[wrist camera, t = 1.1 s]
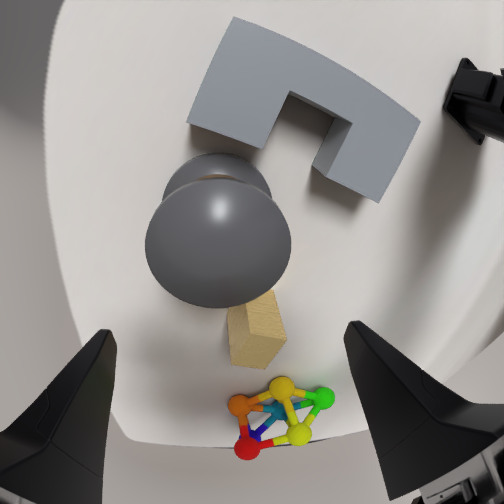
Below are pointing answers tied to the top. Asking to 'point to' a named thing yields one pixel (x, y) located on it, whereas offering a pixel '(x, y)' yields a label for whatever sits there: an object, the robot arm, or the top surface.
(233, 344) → the tan wooden block
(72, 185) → the top surface
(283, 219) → the bobbin
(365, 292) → the top surface
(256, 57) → the notch board
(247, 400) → the molecular model
